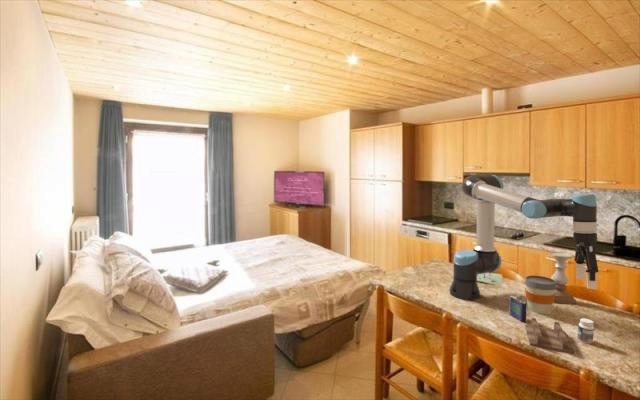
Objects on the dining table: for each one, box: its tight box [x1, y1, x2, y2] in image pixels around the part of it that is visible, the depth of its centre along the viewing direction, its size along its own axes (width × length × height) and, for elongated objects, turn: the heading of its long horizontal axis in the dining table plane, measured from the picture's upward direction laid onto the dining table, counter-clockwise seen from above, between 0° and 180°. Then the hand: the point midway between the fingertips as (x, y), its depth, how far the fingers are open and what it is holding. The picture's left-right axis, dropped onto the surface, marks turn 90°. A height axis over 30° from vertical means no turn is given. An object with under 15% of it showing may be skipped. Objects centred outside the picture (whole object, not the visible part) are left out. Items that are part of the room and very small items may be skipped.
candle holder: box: [548, 251, 577, 305], centre depth 167 cm, size 11×11×24 cm
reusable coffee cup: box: [524, 275, 556, 315], centre depth 155 cm, size 13×13×15 cm
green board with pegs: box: [477, 272, 503, 285], centre depth 201 cm, size 25×21×9 cm
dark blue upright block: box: [508, 295, 528, 324], centre depth 147 cm, size 9×3×11 cm, turn 8°
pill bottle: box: [577, 317, 595, 344], centre depth 128 cm, size 5×5×8 cm
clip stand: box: [524, 317, 576, 355], centre depth 129 cm, size 16×14×4 cm
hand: (585, 283), depth 132 cm, fingers open, 13 cm apart
